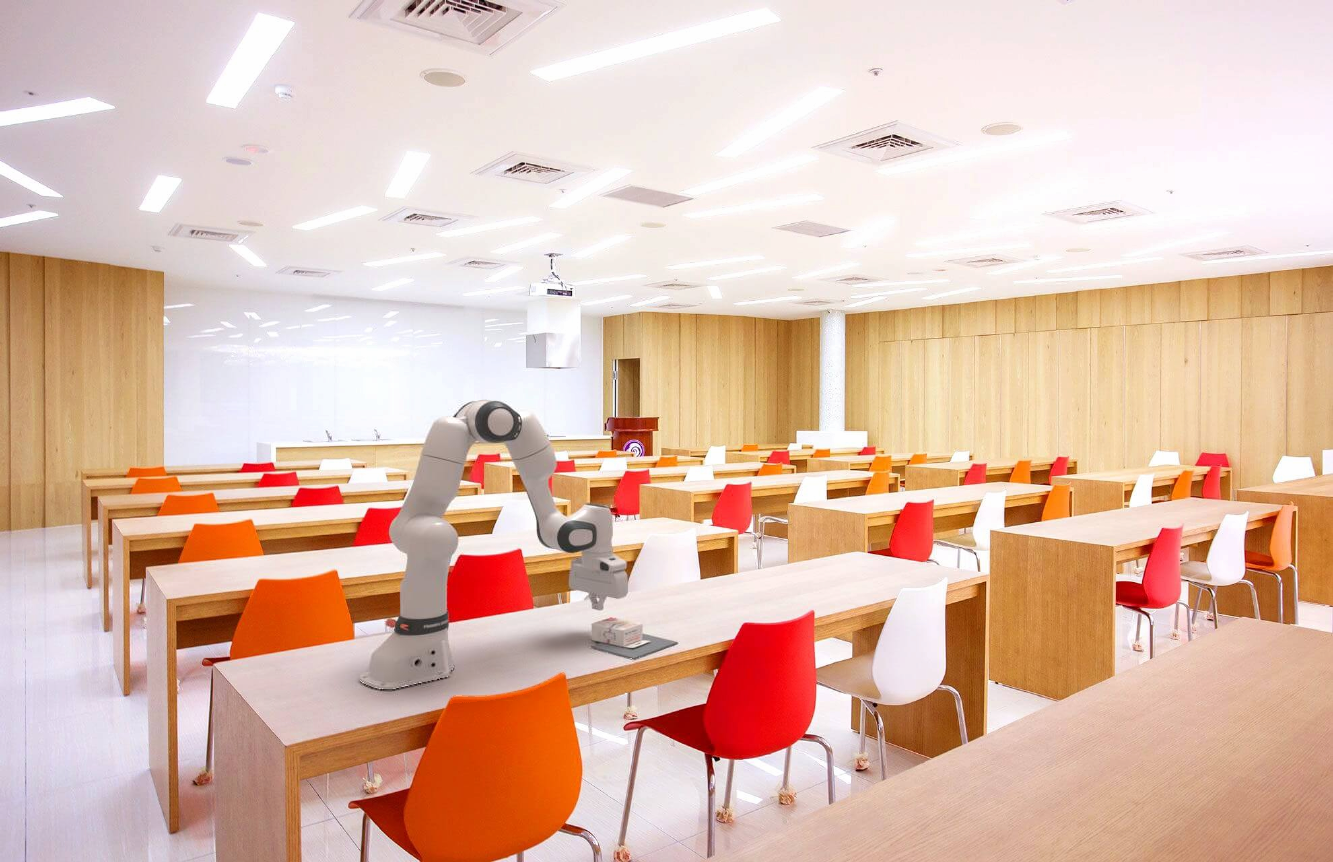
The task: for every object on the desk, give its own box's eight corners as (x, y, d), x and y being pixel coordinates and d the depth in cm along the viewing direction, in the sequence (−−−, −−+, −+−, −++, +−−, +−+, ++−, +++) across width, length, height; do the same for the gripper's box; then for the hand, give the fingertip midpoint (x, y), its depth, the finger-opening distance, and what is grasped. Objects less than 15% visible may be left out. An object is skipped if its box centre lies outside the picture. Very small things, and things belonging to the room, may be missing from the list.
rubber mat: (634, 659, 210) (634, 658, 210) (590, 648, 220) (590, 646, 220) (677, 643, 224) (677, 642, 224) (634, 633, 234) (634, 631, 234)
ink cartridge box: (610, 616, 232) (651, 624, 223) (610, 633, 232) (651, 642, 223) (590, 622, 225) (632, 631, 216) (590, 640, 225) (632, 650, 216)
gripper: (563, 557, 233) (563, 605, 233) (615, 567, 220) (615, 617, 220) (579, 554, 238) (579, 601, 238) (631, 563, 225) (631, 613, 225)
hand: (597, 609), depth 229 cm, fingers closed
